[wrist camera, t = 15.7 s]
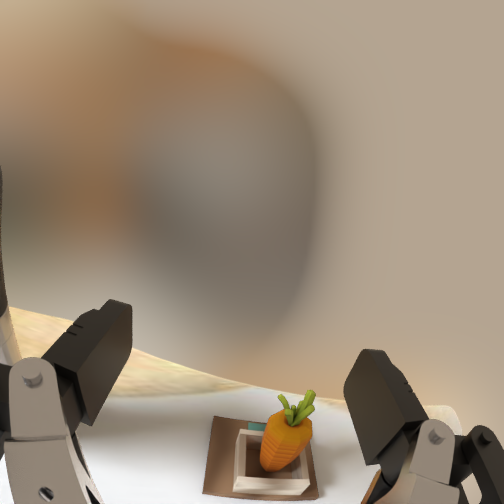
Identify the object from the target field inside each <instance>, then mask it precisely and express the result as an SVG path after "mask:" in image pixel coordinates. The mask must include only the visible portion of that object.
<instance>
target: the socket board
mask: <svg viewBox="0 0 504 504" xmlns="http://www.w3.org/2000/svg"><path fill="white" fill-rule="evenodd" d="M266 425H267V423H260V422H251V421H243V420H236V419H230V418H224V417H218V416H214V418H213V424H212V431H211V437H210V444H209V451H208V458H207V464H206V471H205V478H204V485H203V492H202V494H208V495H214V496H221V497H229V498H239V499H251V500H270V501H302V500H316V499H317V498H318V497H319V495H318V489H317V483H316V476H315V470H314V464H313V458H312V452H311V446H310V441H309V442H308V444H307V445H306V447H305V448H304V449H303V451H302V452H301V453H300V454H299V456H298V457H296V458H295V459H294V460H293V461H292V462H291V463H289V464H288V465H287V466H285V467H283V468H282V469H280V470H278V471H276V472H266V471H265V470H264V468H263V467H262V466H261V463H260V452H261V444H262V438H263V434H264V431H265V428H266Z"/></svg>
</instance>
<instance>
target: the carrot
mask: <svg viewBox="0 0 504 504" xmlns="http://www.w3.org/2000/svg"><path fill="white" fill-rule="evenodd" d="M315 396H316V394H315V392H314V391H313V390H307V393H306V395H305V397H304V400H303V401H300V402H299V405H298V407H297V409H296V406H295V405H292V406H291V409H290V407H289V404H288V401H287V400H286V399H285V397H284V396H283V395H282V394H280V395H279V396H278V399H279V400H280V401H281V403H282V404H283V406H284V409H283V410H281V411H280V412H278V413H276V414H274V415H272V416H271V417H270V418H269V419H268V422H267V425H266V428H265V431H264V434H263V438H262V444H261V452H260V463H261V466H262V467H263V468H264V470H265V471H266V472H276V471H278V470H280V469H282V468H283V467H285V466H287V465H288V464H289V463H291V462H292V461H293V460H294V459H295V458H296V457H298V456H299V454H300V453H301V452H302V451H303V449H304V448H305V447H306V445H307V444H308V442H309V441H310V439H311V437H312V421H311V420H310V419H308V418H307V416H309V415H310V414H311V413H312V412H313V411H314V410H315V408H314V406H313V405H312V403H313V401H314V399H315Z"/></svg>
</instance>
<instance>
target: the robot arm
mask: <svg viewBox="0 0 504 504" xmlns="http://www.w3.org/2000/svg"><path fill="white" fill-rule="evenodd" d="M1 211H2V171H1V167H0V460H1V458H2V456H3V454H5V461H6V467H7V473H8V478H9V483H10V488H11V492H12V496H13V500H14V504H104V502H103V500H102V498H101V496H100V494H99V492H98V490H97V488H96V486H95V484H94V482H93V479H92V477H91V474H90V471H89V469H88V466H87V463H86V460H85V457H84V454H83V451H82V448H81V445H80V442H79V439H78V435H77V432H76V429H77V427H78V425H79V423H80V422H83V423H85V424H87V425H89V426H92V425H93V423H94V421H95V419H96V417H97V415H98V413H99V411H100V410H101V408H102V406H103V404H104V402H105V400H106V398H107V396H108V394H109V393H110V391H111V389H112V387H113V385H114V383H115V382H116V380H117V378H118V376H119V374H120V373H121V371H122V369H123V367H124V365H125V364H126V362H127V360H128V358H129V356H130V353H131V349H132V306H131V305H129V304H126V303H123V302H119V301H115V300H112V299H109V300H108V301H107V302H106V303H105V304H104V305H103V306H102V307H101V309H100V310H95V309H92V310H90V311H88V312H86V313H84V314H82V315H80V316H79V318H78V319H77V320H76V321H75V322H74V323H73V325H71V326H70V327H69V328H68V329H67V330H66V332H64V333H63V334H62V335H61V336H60V337H59V339H58V340H57V341H56V342H55V343H54V344H53V345H52V346H51V347H50V348H49V350H48V351H47V352H46V353H45V354H44V355H43V356H42V357H41V358H36V357H30V358H25V359H22V357H21V354H20V350H19V347H18V343H17V340H16V336H15V332H14V328H13V324H12V320H11V316H10V311H9V306H8V301H7V296H6V290H5V283H4V274H3V264H2V253H1ZM344 397H345V400H346V403H347V406H348V409H349V412H350V415H351V418H352V421H353V424H354V428H355V431H356V434H357V437H358V440H359V443H360V446H361V450H362V453H363V456H364V459H365V463H366V466H367V465H375V464H380V466H381V468H380V469H379V470H378V471H377V472H376V474H375V476H374V478H373V480H372V483H371V485H370V487H369V489H368V491H367V493H366V494H365V496H364V498H363V500H362V502H361V504H469V503H468V500H467V497H466V495H465V492H464V490H463V487H462V484H461V482H462V481H463V480H465V479H466V478H467V477H468V476H469V475H470V474H472V473H473V474H474V476H475V478H476V480H477V483H478V486H479V488H480V490H481V493H482V499H481V502H480V503H479V504H504V450H503V448H502V446H501V444H500V442H499V441H498V439H497V437H496V436H495V434H494V433H493V432H492V431H491V430H490V429H489V428H487V427H485V426H482V425H478V426H475V427H474V428H473V429H472V430H471V431H470V432H469V434H468V435H467V436H461V435H454V433H453V431H452V430H451V428H450V427H449V426H448V425H446V424H445V423H444V422H442V421H439V420H435V419H430V420H429V418H428V416H427V414H426V412H425V411H424V409H423V407H422V405H421V404H420V402H419V400H418V398H417V397H416V395H415V393H413V390H412V388H411V386H410V385H408V382H407V380H406V378H405V377H404V375H403V373H402V372H401V371H400V370H399V369H398V368H397V367H395V366H394V365H393V364H392V363H391V361H390V359H389V358H388V356H387V354H386V353H385V352H384V351H383V350H373V349H363V350H362V351H361V352H360V354H359V356H358V358H357V360H356V362H355V364H354V366H353V368H352V370H351V371H350V373H349V375H348V377H347V379H346V381H345V384H344Z"/></svg>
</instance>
